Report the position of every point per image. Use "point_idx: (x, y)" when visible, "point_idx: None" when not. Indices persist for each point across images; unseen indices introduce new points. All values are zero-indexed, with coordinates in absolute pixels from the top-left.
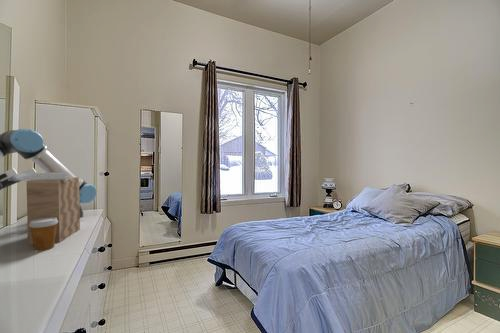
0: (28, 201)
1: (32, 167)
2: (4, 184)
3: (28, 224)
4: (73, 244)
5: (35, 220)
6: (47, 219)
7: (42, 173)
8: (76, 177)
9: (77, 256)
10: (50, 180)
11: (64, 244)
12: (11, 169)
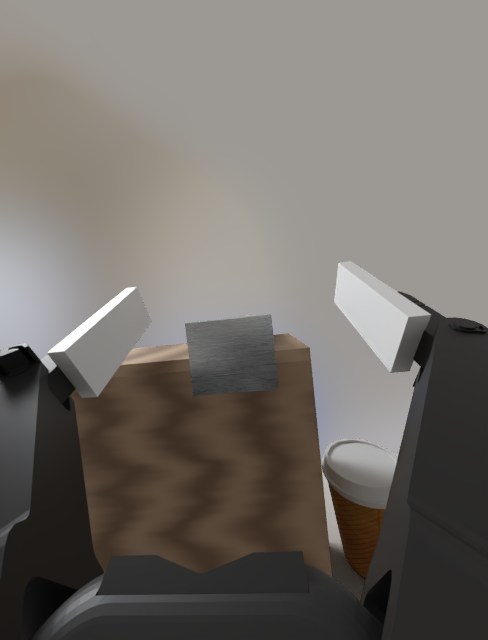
0: (318, 454)
1: (133, 287)
2: (82, 560)
3: (331, 575)
4: (326, 489)
5: (365, 485)
6: (343, 461)
7: (251, 315)
8: (139, 348)
9: (395, 454)
10: (289, 336)
11: (327, 510)
12: (355, 268)
